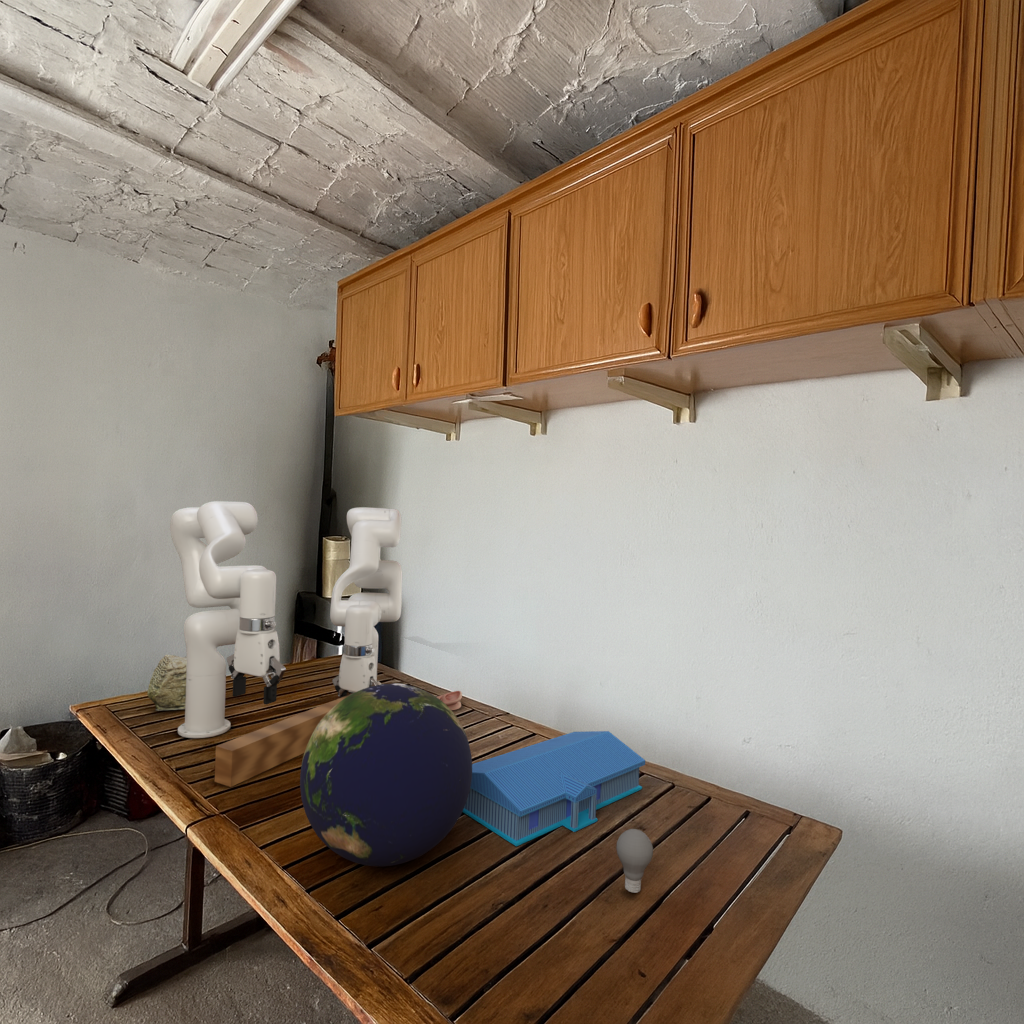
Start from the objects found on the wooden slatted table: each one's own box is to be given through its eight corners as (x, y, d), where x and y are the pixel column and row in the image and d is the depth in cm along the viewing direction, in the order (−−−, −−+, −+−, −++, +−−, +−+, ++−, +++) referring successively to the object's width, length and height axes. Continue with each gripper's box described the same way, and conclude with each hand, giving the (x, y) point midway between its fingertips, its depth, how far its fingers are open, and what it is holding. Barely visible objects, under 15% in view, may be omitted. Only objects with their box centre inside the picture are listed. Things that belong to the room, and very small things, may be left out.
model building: (528, 854, 115) (530, 799, 115) (447, 802, 133) (449, 755, 133) (654, 793, 142) (656, 749, 141) (573, 757, 160) (574, 718, 159)
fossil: (144, 707, 182) (145, 655, 182) (212, 696, 194) (213, 647, 194) (151, 716, 175) (153, 662, 175) (221, 703, 188) (223, 653, 188)
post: (230, 787, 136) (231, 750, 136) (214, 781, 138) (215, 746, 138) (380, 717, 183) (381, 690, 183) (366, 714, 185) (367, 687, 185)
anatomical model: (412, 696, 190) (425, 685, 201) (412, 709, 190) (424, 698, 201) (455, 701, 187) (465, 690, 199) (454, 714, 188) (465, 702, 199)
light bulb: (610, 879, 108) (613, 822, 108) (644, 879, 109) (647, 822, 109) (619, 902, 102) (622, 840, 102) (655, 901, 103) (658, 840, 103)
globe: (257, 876, 105) (264, 696, 104) (364, 800, 133) (370, 657, 132) (413, 929, 94) (422, 728, 93) (494, 834, 121) (501, 678, 121)
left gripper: (297, 626, 143) (295, 701, 144) (243, 617, 151) (240, 688, 151) (272, 631, 137) (269, 710, 137) (216, 622, 144) (213, 696, 145)
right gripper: (391, 651, 176) (389, 714, 176) (342, 643, 184) (340, 703, 184) (374, 657, 169) (372, 722, 169) (324, 648, 177) (322, 710, 177)
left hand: (254, 698), depth 144 cm, fingers open, 9 cm apart
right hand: (355, 712), depth 177 cm, fingers open, 7 cm apart
